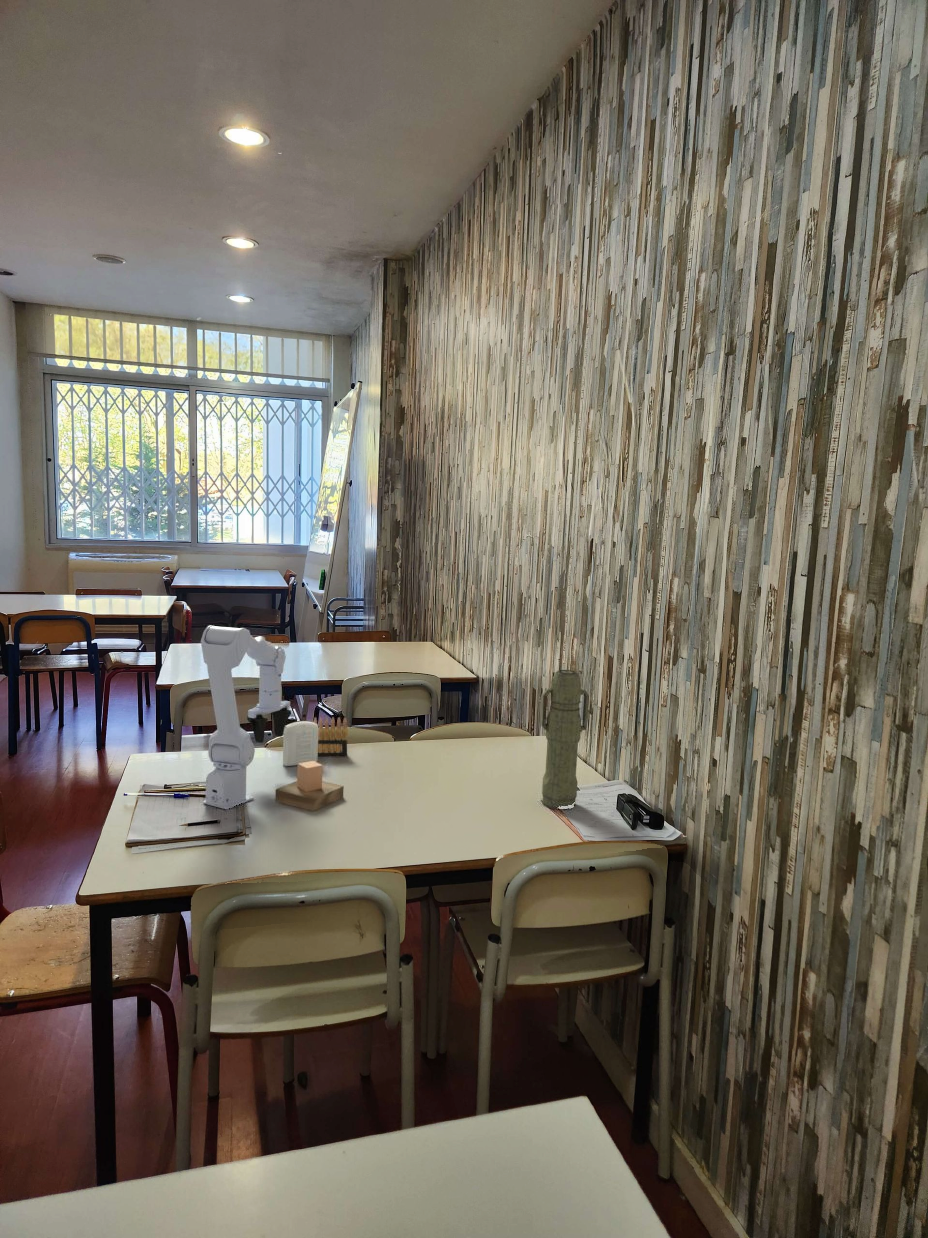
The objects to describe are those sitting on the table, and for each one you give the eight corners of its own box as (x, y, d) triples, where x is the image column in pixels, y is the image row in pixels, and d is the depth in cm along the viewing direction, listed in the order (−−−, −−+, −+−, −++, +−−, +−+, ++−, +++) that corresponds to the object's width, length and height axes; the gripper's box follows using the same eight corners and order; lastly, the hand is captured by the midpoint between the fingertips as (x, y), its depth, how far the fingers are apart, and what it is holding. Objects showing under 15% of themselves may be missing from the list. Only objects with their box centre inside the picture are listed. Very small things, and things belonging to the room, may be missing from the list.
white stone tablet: (313, 759, 233) (315, 718, 232) (319, 763, 230) (320, 721, 228) (280, 763, 227) (281, 721, 226) (285, 767, 224) (286, 725, 222)
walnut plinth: (313, 811, 191) (313, 799, 191) (275, 801, 197) (275, 789, 197) (343, 797, 202) (343, 786, 202) (306, 788, 207) (306, 777, 207)
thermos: (531, 799, 208) (539, 668, 204) (573, 797, 210) (582, 668, 206) (542, 811, 199) (550, 674, 195) (585, 809, 202) (595, 675, 198)
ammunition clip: (311, 757, 235) (312, 717, 234) (311, 755, 237) (312, 716, 236) (347, 756, 237) (348, 717, 236) (346, 754, 239) (348, 716, 238)
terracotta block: (306, 791, 196) (306, 768, 195) (297, 786, 199) (297, 763, 199) (321, 788, 199) (322, 765, 198) (312, 783, 202) (313, 760, 202)
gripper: (276, 683, 221) (275, 730, 223) (239, 692, 208) (238, 742, 210) (296, 687, 218) (295, 735, 220) (260, 695, 205) (259, 746, 207)
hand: (269, 738), depth 215 cm, fingers open, 7 cm apart
